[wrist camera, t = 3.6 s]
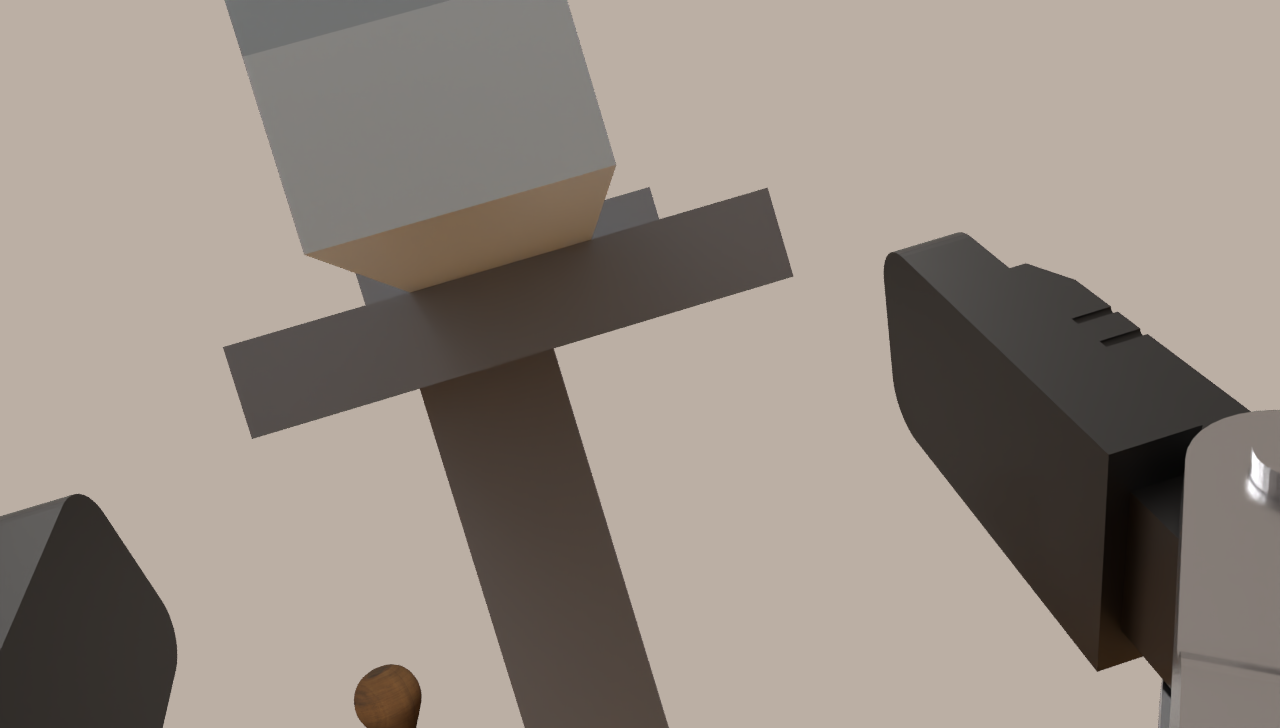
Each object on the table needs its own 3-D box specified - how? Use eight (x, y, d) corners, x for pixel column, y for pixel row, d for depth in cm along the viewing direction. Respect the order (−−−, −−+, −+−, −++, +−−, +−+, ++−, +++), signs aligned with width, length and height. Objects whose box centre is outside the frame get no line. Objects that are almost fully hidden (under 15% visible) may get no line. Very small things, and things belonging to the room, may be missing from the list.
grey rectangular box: (616, 164, 13) (539, -92, 13) (304, 254, 12) (222, -8, 12) (577, 282, 37) (550, 194, 37) (469, 313, 36) (442, 225, 36)
